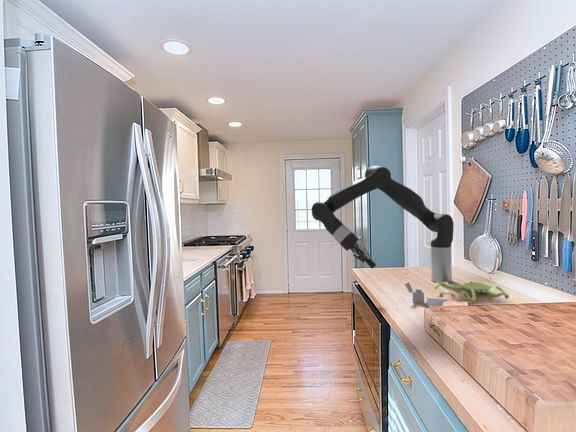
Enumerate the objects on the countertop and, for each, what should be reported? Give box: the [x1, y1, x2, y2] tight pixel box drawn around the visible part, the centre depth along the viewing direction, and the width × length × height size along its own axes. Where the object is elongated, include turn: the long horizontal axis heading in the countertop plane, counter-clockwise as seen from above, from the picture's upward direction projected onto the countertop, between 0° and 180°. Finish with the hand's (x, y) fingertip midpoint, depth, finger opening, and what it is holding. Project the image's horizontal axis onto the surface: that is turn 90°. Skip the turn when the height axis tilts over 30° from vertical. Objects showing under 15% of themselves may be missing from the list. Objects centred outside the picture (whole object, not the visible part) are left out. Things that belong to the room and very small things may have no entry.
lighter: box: [404, 281, 425, 304], centre depth 134 cm, size 7×2×8 cm, turn 64°
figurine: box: [433, 281, 508, 302], centre depth 142 cm, size 18×27×6 cm
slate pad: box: [425, 297, 448, 308], centre depth 129 cm, size 11×15×1 cm
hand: (374, 266), depth 141 cm, fingers closed
